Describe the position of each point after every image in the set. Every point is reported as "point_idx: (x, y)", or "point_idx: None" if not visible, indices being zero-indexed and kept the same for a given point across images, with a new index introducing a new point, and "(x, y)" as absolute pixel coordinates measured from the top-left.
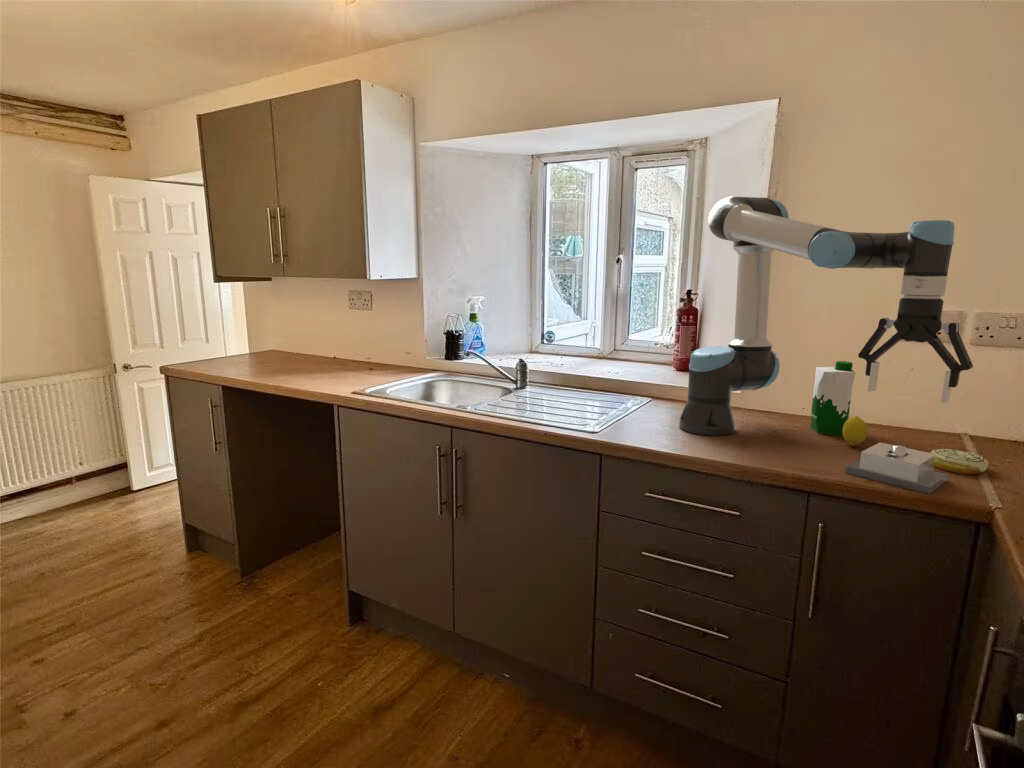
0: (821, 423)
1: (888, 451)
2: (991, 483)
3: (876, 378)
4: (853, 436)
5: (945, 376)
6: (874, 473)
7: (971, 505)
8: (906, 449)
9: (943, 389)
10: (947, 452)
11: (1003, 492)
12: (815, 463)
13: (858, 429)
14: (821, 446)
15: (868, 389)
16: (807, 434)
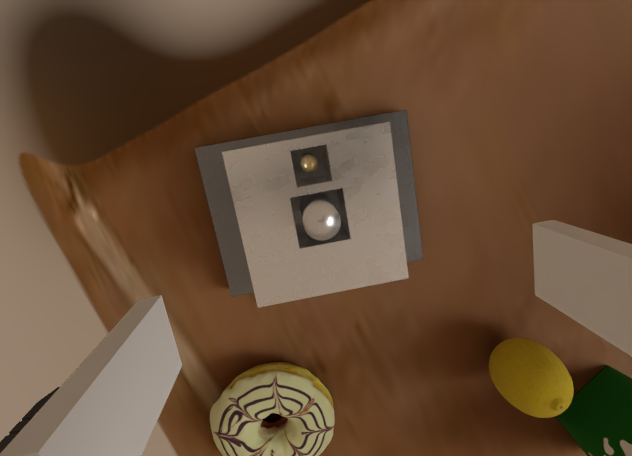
0: (630, 388)
1: (345, 207)
2: None
3: (595, 313)
4: (512, 344)
5: (64, 410)
6: (331, 123)
7: (108, 163)
8: (328, 278)
9: (123, 340)
10: (298, 425)
11: None
12: (487, 110)
13: (517, 364)
14: None
15: (558, 222)
16: None
